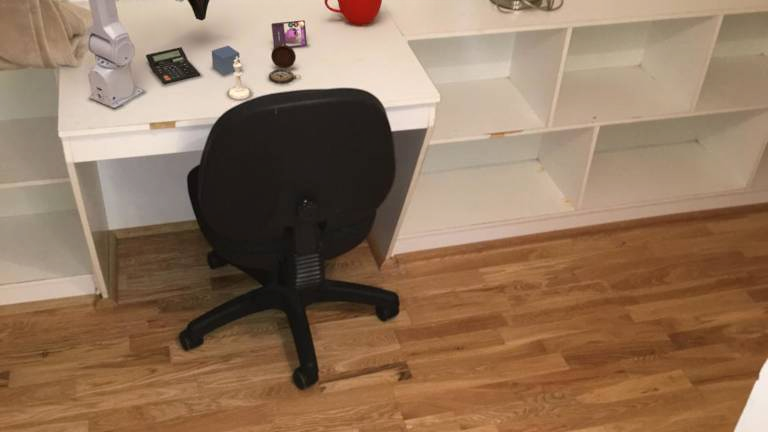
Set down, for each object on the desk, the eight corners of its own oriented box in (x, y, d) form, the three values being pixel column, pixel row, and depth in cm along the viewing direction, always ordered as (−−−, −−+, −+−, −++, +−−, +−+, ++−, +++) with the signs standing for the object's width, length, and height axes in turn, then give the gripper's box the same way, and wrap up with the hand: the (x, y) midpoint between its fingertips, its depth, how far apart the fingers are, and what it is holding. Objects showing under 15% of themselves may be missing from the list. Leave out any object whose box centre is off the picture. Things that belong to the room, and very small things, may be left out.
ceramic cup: (317, 15, 227) (317, -18, 221) (371, 8, 233) (373, -24, 227) (332, 35, 218) (332, 1, 212) (388, 27, 224) (390, -6, 218)
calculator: (164, 85, 193) (162, 74, 191) (147, 64, 200) (145, 54, 198) (200, 76, 197) (199, 65, 195) (182, 56, 204) (180, 46, 202)
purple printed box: (272, 23, 207) (305, 20, 209) (268, 21, 211) (300, 18, 214) (274, 49, 209) (307, 46, 212) (270, 47, 214) (303, 43, 216)
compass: (267, 83, 196) (266, 57, 191) (272, 68, 202) (271, 42, 198) (299, 86, 196) (298, 60, 191) (303, 70, 202) (303, 45, 197)
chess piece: (224, 94, 191) (221, 57, 185) (238, 86, 194) (236, 50, 188) (240, 101, 189) (237, 64, 183) (254, 93, 192) (251, 56, 186)
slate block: (223, 76, 198) (222, 58, 194) (212, 68, 200) (211, 50, 197) (240, 70, 200) (239, 52, 197) (229, 62, 203) (228, 45, 200)
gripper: (187, -20, 186) (193, 33, 194) (227, -39, 196) (231, 13, 204) (165, -27, 188) (171, 25, 197) (205, -45, 198) (210, 5, 207)
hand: (200, 18), depth 201 cm, fingers closed
